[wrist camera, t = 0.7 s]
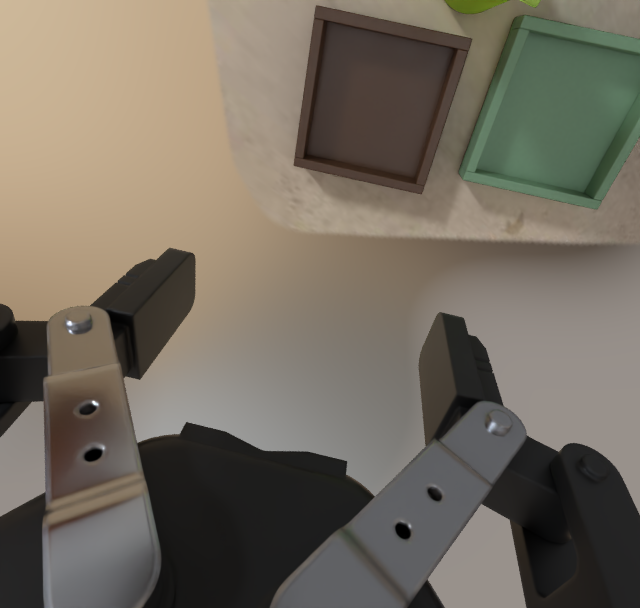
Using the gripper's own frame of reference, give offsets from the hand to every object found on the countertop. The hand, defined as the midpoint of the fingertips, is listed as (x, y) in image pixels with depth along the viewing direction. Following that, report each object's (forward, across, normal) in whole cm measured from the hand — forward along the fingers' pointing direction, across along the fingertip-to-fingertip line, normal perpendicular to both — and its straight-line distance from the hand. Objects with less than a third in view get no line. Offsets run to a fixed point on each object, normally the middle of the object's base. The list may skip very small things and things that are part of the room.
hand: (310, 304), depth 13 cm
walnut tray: (+29, -1, -2) cm, 29 cm away
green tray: (+29, -16, -4) cm, 33 cm away
